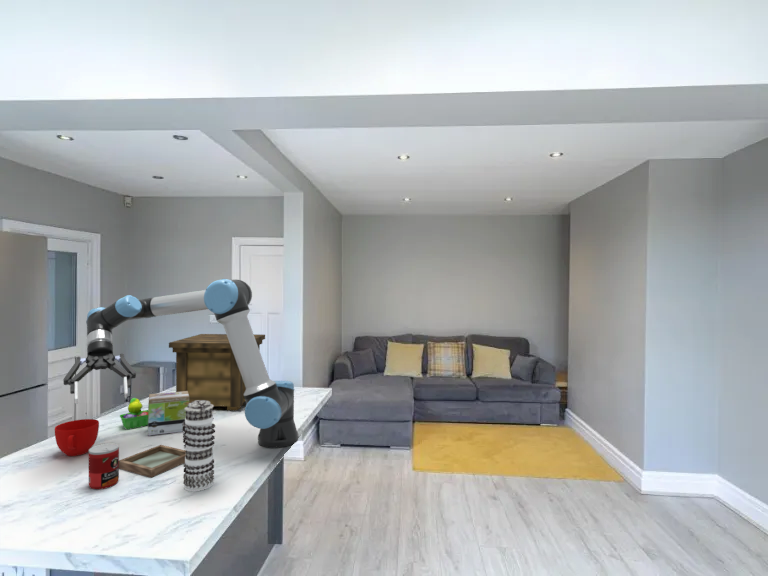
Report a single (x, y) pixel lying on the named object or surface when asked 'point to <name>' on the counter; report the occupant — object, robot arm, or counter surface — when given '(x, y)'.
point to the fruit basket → (135, 415)
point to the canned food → (103, 466)
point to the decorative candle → (198, 446)
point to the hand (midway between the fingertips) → (101, 398)
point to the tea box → (167, 412)
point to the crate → (210, 370)
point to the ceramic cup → (76, 436)
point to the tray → (153, 461)
